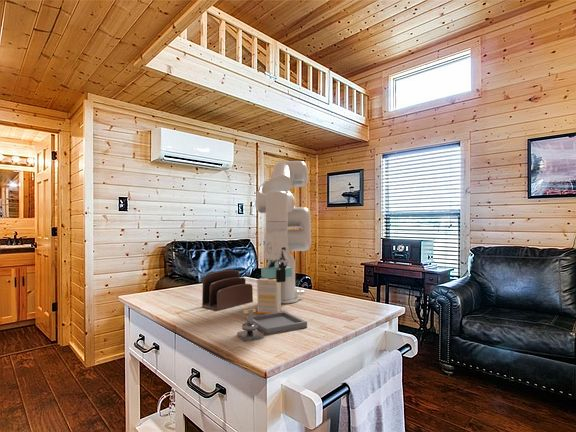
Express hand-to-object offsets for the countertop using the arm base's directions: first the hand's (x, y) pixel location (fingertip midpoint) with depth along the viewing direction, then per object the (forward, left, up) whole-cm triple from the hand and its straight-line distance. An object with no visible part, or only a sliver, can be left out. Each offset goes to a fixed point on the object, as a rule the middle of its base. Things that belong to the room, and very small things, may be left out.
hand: (276, 279), depth 112 cm
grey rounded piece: (+12, +6, -15) cm, 21 cm away
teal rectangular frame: (0, 0, +1) cm, 1 cm away
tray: (0, 0, -15) cm, 15 cm away
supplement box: (-5, -15, -15) cm, 22 cm away
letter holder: (+5, -35, -16) cm, 39 cm away
